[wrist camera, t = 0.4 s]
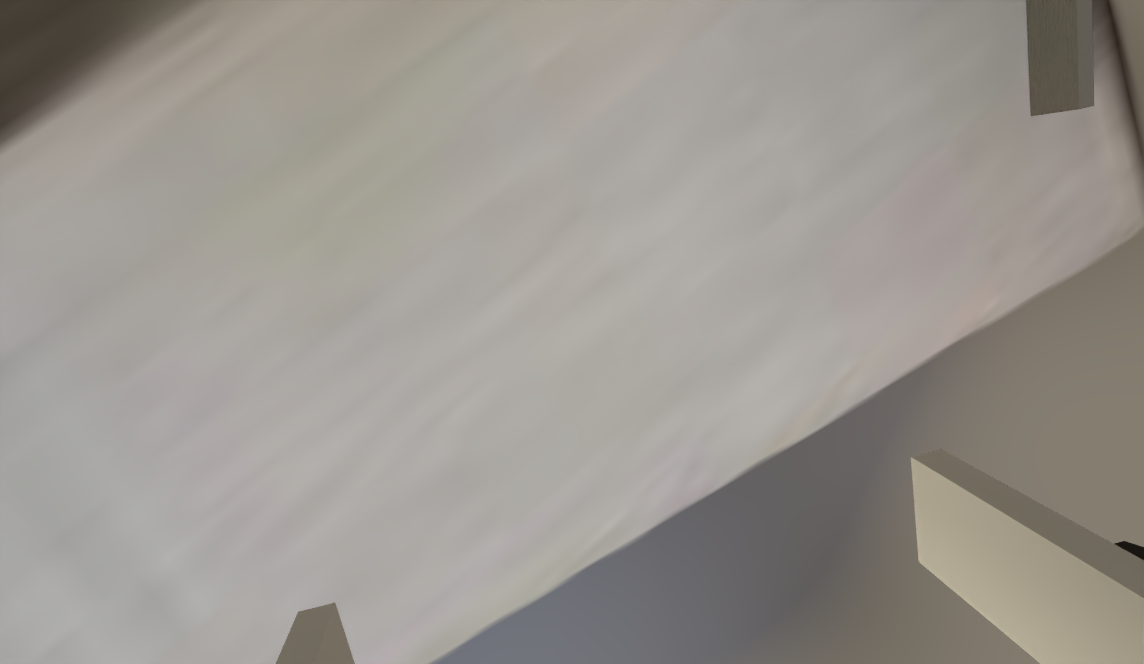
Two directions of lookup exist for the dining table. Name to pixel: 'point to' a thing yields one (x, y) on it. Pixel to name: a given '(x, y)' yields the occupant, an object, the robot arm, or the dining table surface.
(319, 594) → the dining table surface
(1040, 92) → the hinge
